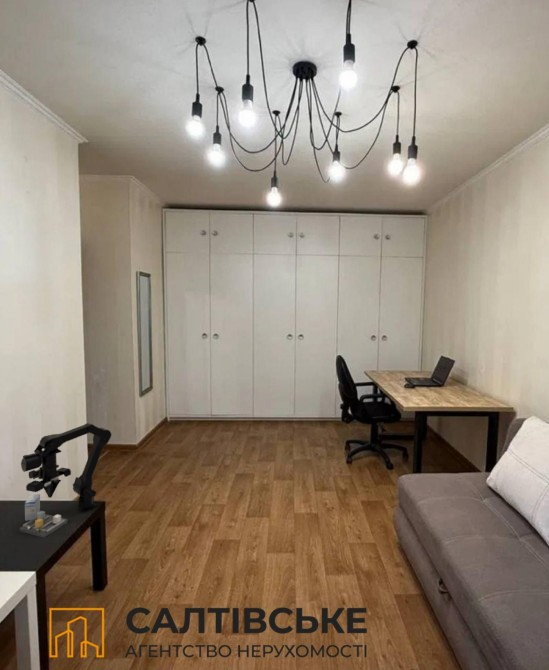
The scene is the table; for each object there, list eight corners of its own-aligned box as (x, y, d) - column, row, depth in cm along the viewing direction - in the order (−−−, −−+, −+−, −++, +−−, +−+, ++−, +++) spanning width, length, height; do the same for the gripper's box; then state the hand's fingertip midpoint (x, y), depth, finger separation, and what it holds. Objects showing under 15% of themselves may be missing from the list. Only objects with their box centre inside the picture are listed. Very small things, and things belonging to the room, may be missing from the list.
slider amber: (40, 523, 163) (40, 517, 163) (44, 524, 162) (44, 518, 162) (33, 527, 160) (33, 521, 160) (38, 528, 159) (37, 522, 159)
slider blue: (42, 515, 169) (42, 510, 169) (46, 516, 168) (46, 511, 168) (36, 519, 166) (36, 513, 166) (40, 520, 166) (40, 514, 165)
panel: (44, 516, 171) (44, 511, 171) (67, 522, 167) (67, 517, 167) (19, 531, 160) (19, 525, 160) (44, 537, 156) (43, 532, 156)
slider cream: (57, 519, 166) (57, 513, 166) (62, 520, 166) (61, 514, 165) (52, 523, 163) (52, 517, 163) (56, 524, 163) (56, 518, 163)
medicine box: (29, 512, 175) (29, 495, 175) (40, 510, 177) (40, 493, 176) (24, 521, 168) (24, 503, 167) (36, 519, 169) (35, 501, 169)
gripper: (53, 454, 177) (54, 485, 178) (16, 470, 159) (17, 504, 160) (71, 457, 174) (72, 488, 175) (35, 473, 156) (36, 508, 157)
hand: (50, 497), depth 167 cm, fingers closed
